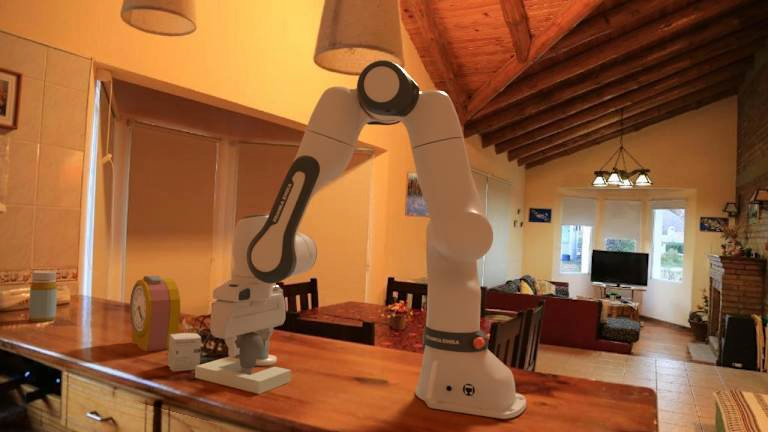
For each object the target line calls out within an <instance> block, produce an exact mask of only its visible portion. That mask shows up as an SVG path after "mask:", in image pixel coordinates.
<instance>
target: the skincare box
mask: <svg viewBox="0 0 768 432" xmlns="http://www.w3.org/2000/svg"><path fill="white" fill-rule="evenodd" d="M201 345H202V336H200V335H199V334H198V333H197V332H183V333H182V332H181V333H178V334H170V335H169V349H168V357H167V366H168V367H170V368H169V370H170V371H171V370H172V371H171V372H172V373H173V372H175V373H176V372H183V371H193V370H194V371H195V368H196V366H198V365H201V364H200V363H201V348H202V347H201Z"/></svg>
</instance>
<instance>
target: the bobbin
mask: <svg viewBox="0 0 768 432" xmlns="http://www.w3.org/2000/svg"><path fill="white" fill-rule="evenodd" d="M275 327H276V328H277V326H275ZM275 327H274V328H275ZM263 332H264V331H262V330H258V331H256V333H257V334H259V335H260V336H261V338H262V335H263ZM269 349H270V346H269V347H267V348H263V351H262V353H261V354H260V356H259V357H258V359H257V360H256V364H255V366H254V367H268V366H273V365H275V364H276V363H277V359H278V358H277V356H276V355H272V354H269V352H270V350H269Z"/></svg>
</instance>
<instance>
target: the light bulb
mask: <svg viewBox="0 0 768 432" xmlns="http://www.w3.org/2000/svg"><path fill="white" fill-rule="evenodd" d="M235 344H236V346H237V347H239V348H240V351H239V355H238V356H237V357H238V359H240V365H241V372H240V373H243V374H247V375H251V374H254V373H253V372H254V367H256V366H255V364H256V360H257V359H258V357H259V356H260V354H261V353H262V351H263V348H264V342H263V340H262V338H261V336H260V335H259V334H257V332H256V331H254V332H250V333H246V334H242V335H239V337H237V341H235Z"/></svg>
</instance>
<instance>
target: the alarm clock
mask: <svg viewBox="0 0 768 432" xmlns="http://www.w3.org/2000/svg"><path fill="white" fill-rule="evenodd" d="M131 290H132V291H131V294H130V299H129V317H130V323H131V343H132V342H134V343H135V344H137V345H138V346H140V347H141V348H142V349H141V348H140V347H139V348H140V349H141V350H143V349H144V350H145V351H144V350H143V351H144V352H146V351H147V352H154V351H153V350H155V351H161V350H162V349H163V350H169V335H170V334H179V324H180V317H181V316H180V315H181V297H180V293H179V292H180V291H179V288H178V285H177V283H176V281H175V280H174V279H173V278H161V276H159V275H144V276H143V279H138V280H136V281H135V284H133V288H132V289H131ZM134 343H133V344H134ZM135 344H134V345H135ZM137 345H136V346H137ZM138 346H137V347H138Z"/></svg>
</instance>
